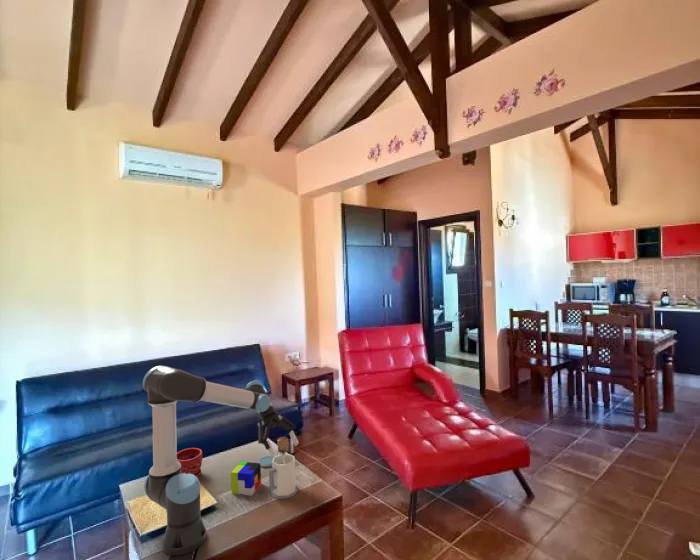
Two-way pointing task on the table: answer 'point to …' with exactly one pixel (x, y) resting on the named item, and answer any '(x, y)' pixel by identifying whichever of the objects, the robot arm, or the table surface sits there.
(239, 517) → the table surface
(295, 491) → the jug
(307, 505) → the table surface
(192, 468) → the plant pot
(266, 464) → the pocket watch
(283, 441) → the plunger
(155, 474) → the robot arm
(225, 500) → the table surface
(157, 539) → the table surface
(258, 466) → the puzzle toy
